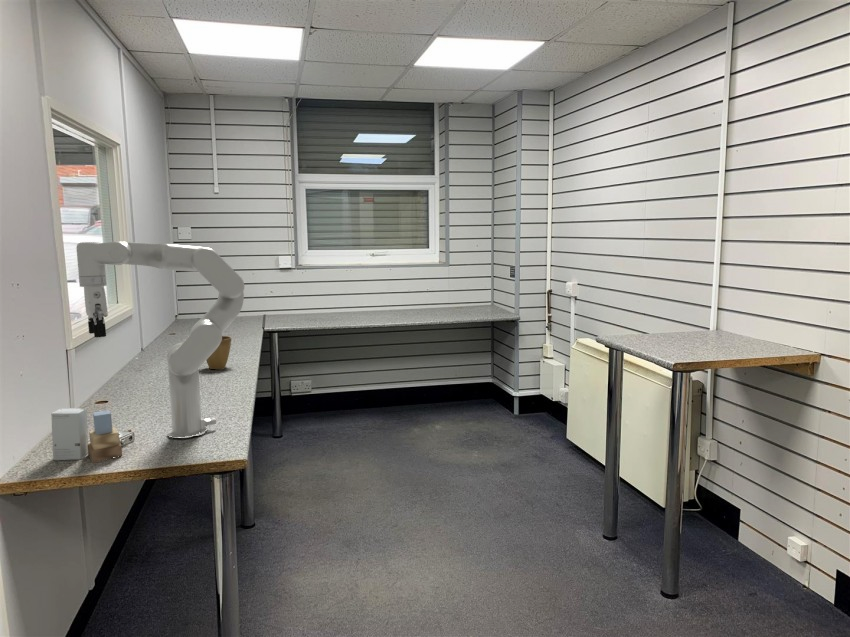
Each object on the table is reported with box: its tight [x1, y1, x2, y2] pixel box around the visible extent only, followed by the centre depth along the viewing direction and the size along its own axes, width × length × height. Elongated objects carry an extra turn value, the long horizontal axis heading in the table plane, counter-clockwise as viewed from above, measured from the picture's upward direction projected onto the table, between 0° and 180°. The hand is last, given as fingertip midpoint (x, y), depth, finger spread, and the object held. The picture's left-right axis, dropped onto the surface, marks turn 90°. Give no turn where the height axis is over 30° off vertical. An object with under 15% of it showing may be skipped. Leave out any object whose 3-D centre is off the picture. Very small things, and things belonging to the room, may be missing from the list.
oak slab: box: [88, 426, 121, 450], centre depth 183 cm, size 7×7×4 cm
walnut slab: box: [87, 442, 123, 464], centre depth 184 cm, size 8×8×4 cm
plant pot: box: [205, 335, 232, 370], centre depth 305 cm, size 15×15×16 cm
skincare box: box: [51, 407, 89, 461], centre depth 182 cm, size 8×6×15 cm
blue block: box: [92, 409, 113, 435], centre depth 183 cm, size 4×4×6 cm
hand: (97, 334), depth 190 cm, fingers open, 9 cm apart
